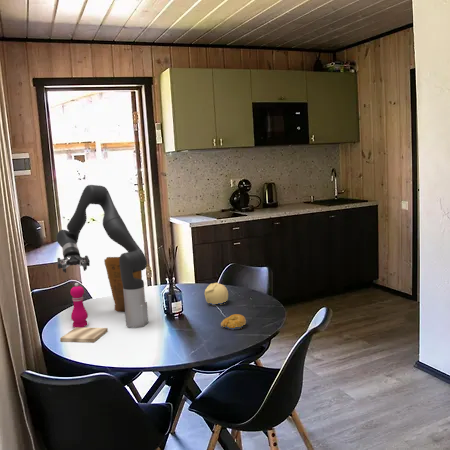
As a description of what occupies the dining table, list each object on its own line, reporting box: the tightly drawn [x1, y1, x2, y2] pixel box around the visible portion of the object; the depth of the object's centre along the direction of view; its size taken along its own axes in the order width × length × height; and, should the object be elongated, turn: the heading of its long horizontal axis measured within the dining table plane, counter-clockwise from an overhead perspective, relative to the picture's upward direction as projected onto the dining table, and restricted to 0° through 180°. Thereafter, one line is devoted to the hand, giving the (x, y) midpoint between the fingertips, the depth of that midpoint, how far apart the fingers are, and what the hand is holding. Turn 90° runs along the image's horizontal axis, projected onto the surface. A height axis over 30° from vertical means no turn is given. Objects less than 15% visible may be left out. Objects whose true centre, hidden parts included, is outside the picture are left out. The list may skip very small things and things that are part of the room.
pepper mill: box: [69, 282, 89, 328], centre depth 216 cm, size 7×7×20 cm
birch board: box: [60, 327, 109, 343], centre depth 203 cm, size 15×13×2 cm
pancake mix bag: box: [103, 256, 143, 313], centre depth 234 cm, size 7×19×28 cm, turn 72°
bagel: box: [220, 313, 247, 328], centre depth 206 cm, size 10×11×5 cm
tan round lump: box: [204, 282, 229, 304], centre depth 240 cm, size 12×12×11 cm
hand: (75, 269), depth 218 cm, fingers open, 8 cm apart
